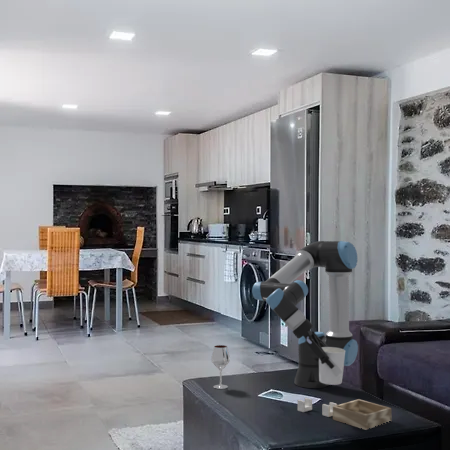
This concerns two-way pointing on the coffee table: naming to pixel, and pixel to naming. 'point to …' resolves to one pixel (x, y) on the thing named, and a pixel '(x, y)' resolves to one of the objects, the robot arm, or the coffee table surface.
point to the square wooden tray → (361, 414)
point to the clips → (307, 405)
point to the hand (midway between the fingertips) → (340, 371)
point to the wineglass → (220, 361)
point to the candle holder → (325, 373)
